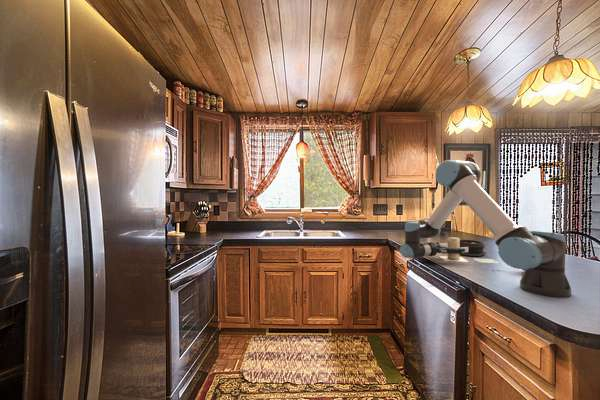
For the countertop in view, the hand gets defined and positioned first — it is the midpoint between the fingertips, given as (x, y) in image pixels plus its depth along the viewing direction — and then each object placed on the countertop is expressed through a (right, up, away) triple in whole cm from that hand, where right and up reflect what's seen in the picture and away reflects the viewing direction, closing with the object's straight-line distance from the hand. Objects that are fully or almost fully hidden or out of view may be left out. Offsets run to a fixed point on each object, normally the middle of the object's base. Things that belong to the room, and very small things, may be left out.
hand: (457, 247), depth 161 cm
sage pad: (+12, -7, -6) cm, 15 cm away
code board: (-3, -8, -1) cm, 8 cm away
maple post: (-3, -6, -1) cm, 7 cm away
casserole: (+16, -7, +15) cm, 23 cm away
